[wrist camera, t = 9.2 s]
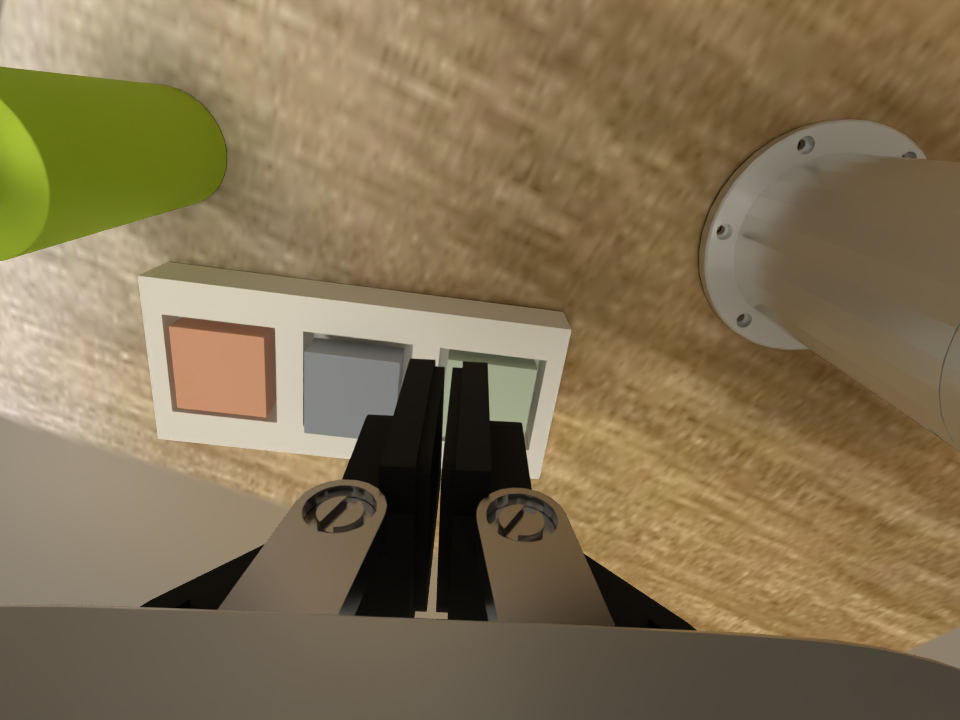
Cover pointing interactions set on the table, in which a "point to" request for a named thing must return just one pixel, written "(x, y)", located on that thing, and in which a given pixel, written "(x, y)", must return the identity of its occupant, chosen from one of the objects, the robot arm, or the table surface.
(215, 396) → the terracotta button
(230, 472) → the table surface
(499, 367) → the sage button
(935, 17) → the table surface
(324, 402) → the slate button
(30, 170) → the soap dispenser
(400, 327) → the button panel
